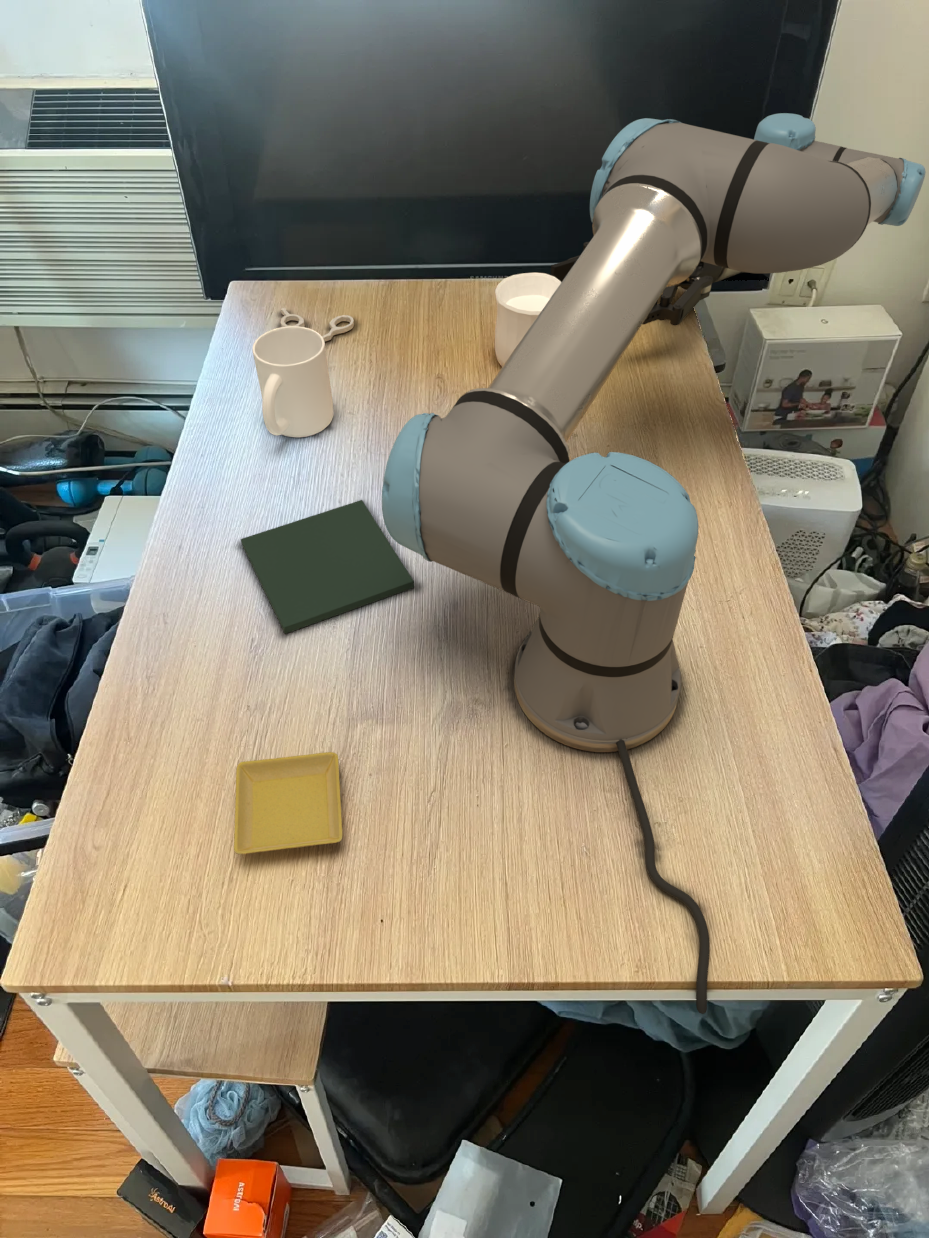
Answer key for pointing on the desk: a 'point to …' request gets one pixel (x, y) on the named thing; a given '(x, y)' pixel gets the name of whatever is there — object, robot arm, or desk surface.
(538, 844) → the desk surface
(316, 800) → the saucer
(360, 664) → the desk surface
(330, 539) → the cup mat
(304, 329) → the mug
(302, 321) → the scissors
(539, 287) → the cup
